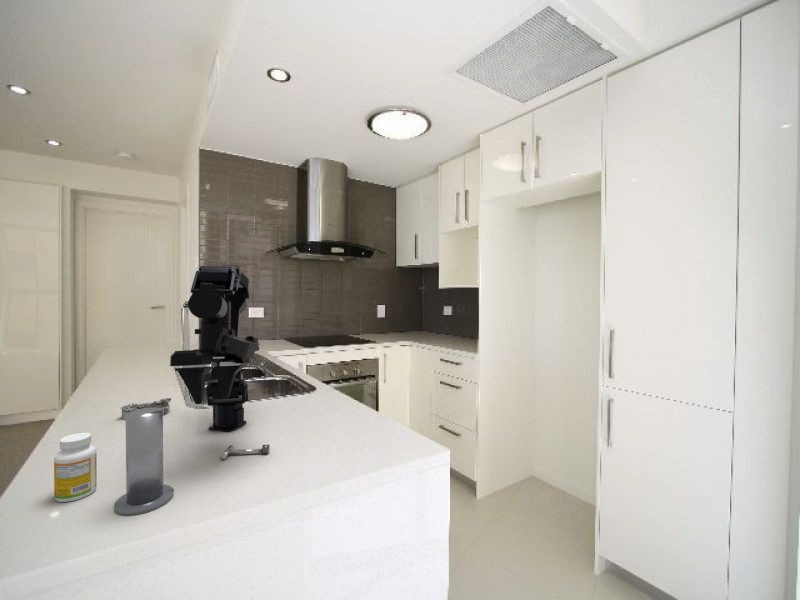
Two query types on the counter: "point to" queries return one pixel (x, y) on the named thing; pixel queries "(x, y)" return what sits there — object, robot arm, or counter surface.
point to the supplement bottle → (75, 468)
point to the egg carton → (147, 406)
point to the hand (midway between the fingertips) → (212, 401)
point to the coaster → (127, 510)
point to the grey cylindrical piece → (144, 456)
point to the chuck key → (245, 451)
